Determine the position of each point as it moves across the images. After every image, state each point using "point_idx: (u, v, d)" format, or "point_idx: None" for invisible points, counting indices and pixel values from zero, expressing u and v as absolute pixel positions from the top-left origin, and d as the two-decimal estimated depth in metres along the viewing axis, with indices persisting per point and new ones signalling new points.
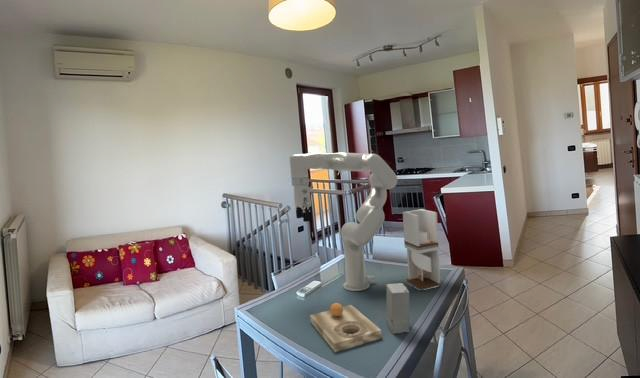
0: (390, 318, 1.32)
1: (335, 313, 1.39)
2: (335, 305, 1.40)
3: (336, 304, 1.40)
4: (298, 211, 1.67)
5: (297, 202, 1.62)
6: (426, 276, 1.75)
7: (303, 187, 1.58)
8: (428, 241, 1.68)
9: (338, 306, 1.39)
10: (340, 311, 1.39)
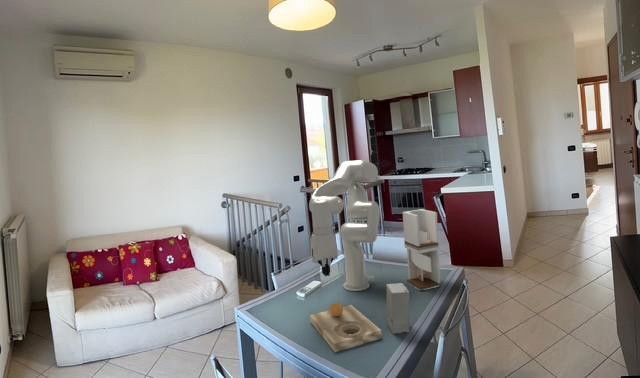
0: (390, 318, 1.32)
1: (335, 313, 1.39)
2: (335, 305, 1.40)
3: (336, 304, 1.40)
4: None
5: (326, 253, 1.44)
6: (426, 276, 1.75)
7: None
8: (428, 241, 1.68)
9: (338, 306, 1.39)
10: (340, 311, 1.39)
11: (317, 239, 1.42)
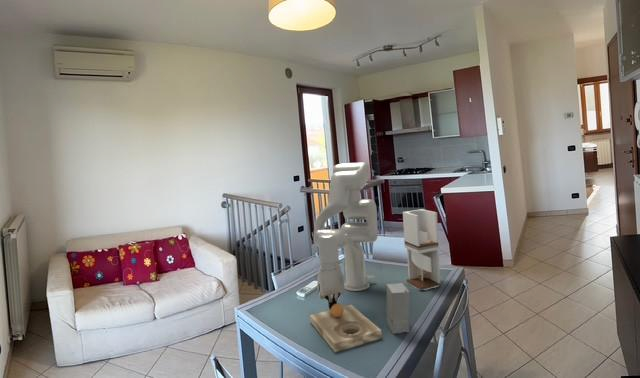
0: (390, 318, 1.32)
1: (336, 315, 1.38)
2: (336, 307, 1.39)
3: (337, 306, 1.39)
4: None
5: (333, 288, 1.41)
6: (426, 276, 1.75)
7: None
8: (428, 241, 1.68)
9: (339, 308, 1.38)
10: (341, 313, 1.38)
11: (324, 275, 1.39)
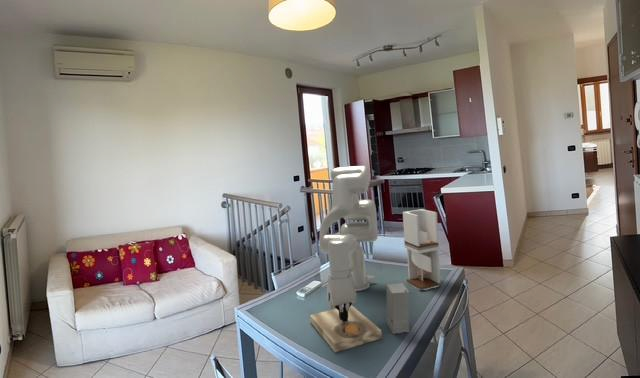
0: (390, 318, 1.32)
1: (350, 331, 1.27)
2: (348, 325, 1.30)
3: (349, 324, 1.30)
4: None
5: (345, 298, 1.32)
6: (426, 276, 1.75)
7: None
8: (428, 241, 1.68)
9: (351, 324, 1.29)
10: (355, 328, 1.28)
11: (334, 283, 1.30)
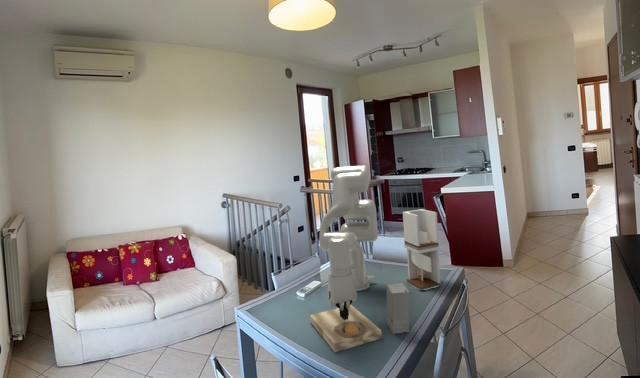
0: (390, 318, 1.32)
1: (350, 331, 1.27)
2: (348, 325, 1.30)
3: (349, 324, 1.30)
4: None
5: (345, 296, 1.32)
6: (426, 276, 1.75)
7: None
8: (428, 241, 1.68)
9: (351, 324, 1.29)
10: (355, 328, 1.28)
11: (335, 281, 1.30)
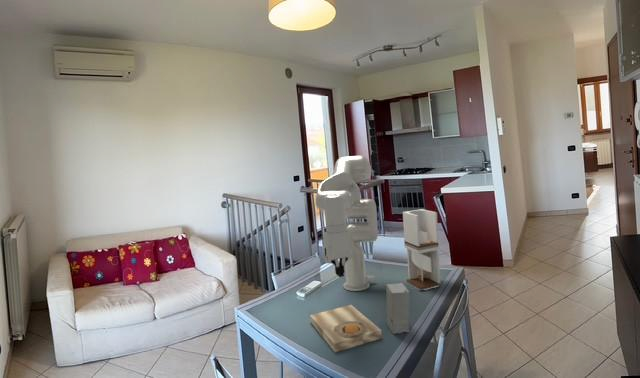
0: (390, 318, 1.32)
1: (350, 331, 1.27)
2: (348, 325, 1.30)
3: (349, 324, 1.30)
4: None
5: (341, 252, 1.33)
6: (426, 276, 1.75)
7: None
8: (428, 241, 1.68)
9: (351, 324, 1.29)
10: (354, 328, 1.28)
11: (330, 237, 1.31)
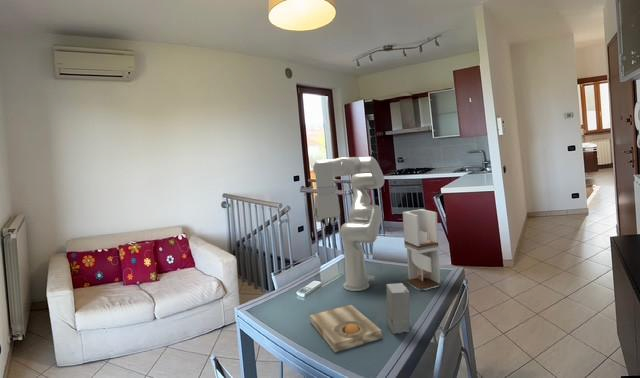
0: (390, 318, 1.32)
1: (350, 331, 1.27)
2: (348, 325, 1.30)
3: (349, 324, 1.30)
4: None
5: (329, 212, 1.49)
6: (426, 276, 1.75)
7: None
8: (428, 241, 1.68)
9: (351, 324, 1.29)
10: (354, 328, 1.28)
11: (320, 198, 1.48)
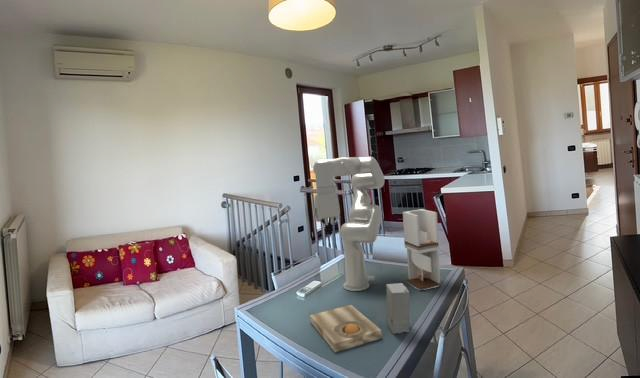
0: (390, 318, 1.32)
1: (350, 331, 1.27)
2: (348, 325, 1.30)
3: None
4: None
5: (329, 212, 1.49)
6: (426, 276, 1.75)
7: None
8: (428, 241, 1.68)
9: (351, 324, 1.30)
10: (354, 327, 1.28)
11: (320, 198, 1.48)
